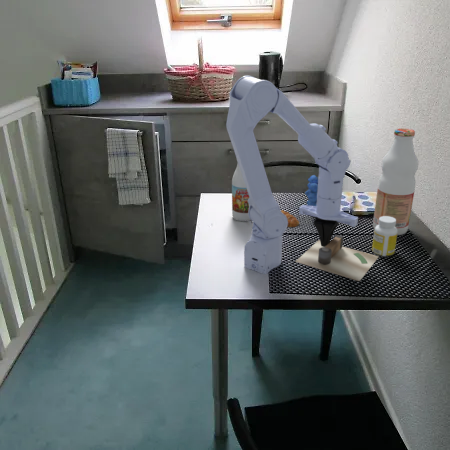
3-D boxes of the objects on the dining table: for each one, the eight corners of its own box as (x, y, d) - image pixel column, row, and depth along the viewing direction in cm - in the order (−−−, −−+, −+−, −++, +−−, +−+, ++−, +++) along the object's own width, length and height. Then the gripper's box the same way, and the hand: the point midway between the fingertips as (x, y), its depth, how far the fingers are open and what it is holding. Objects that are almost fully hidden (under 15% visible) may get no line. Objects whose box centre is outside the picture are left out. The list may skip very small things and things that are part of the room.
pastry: (303, 225, 128) (304, 213, 126) (290, 233, 124) (290, 221, 122) (277, 217, 134) (278, 205, 132) (264, 224, 129) (264, 212, 128)
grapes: (326, 219, 131) (330, 181, 126) (303, 218, 132) (306, 180, 127) (324, 204, 141) (327, 168, 136) (303, 203, 142) (305, 168, 137)
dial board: (359, 284, 99) (359, 280, 98) (295, 265, 107) (295, 261, 107) (378, 259, 109) (379, 256, 108) (318, 243, 117) (318, 239, 117)
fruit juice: (365, 226, 126) (377, 129, 114) (388, 219, 130) (402, 124, 118) (391, 239, 118) (407, 136, 107) (415, 231, 123) (433, 131, 111)
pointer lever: (327, 265, 104) (328, 252, 103) (315, 262, 106) (316, 249, 104) (344, 247, 112) (345, 235, 111) (333, 244, 114) (334, 232, 112)
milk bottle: (229, 213, 136) (227, 150, 128) (252, 210, 138) (252, 148, 130) (237, 223, 130) (236, 157, 121) (261, 219, 132) (262, 155, 123)
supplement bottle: (393, 250, 113) (398, 215, 109) (394, 260, 108) (400, 224, 104) (371, 248, 114) (375, 213, 110) (371, 258, 110) (376, 222, 105)
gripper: (364, 195, 105) (358, 246, 111) (308, 184, 113) (306, 232, 118) (354, 205, 100) (348, 257, 106) (296, 193, 107) (293, 242, 113)
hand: (325, 245), depth 112 cm, fingers closed
